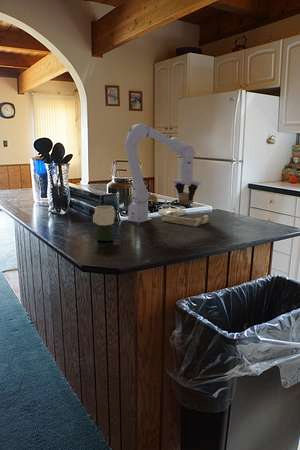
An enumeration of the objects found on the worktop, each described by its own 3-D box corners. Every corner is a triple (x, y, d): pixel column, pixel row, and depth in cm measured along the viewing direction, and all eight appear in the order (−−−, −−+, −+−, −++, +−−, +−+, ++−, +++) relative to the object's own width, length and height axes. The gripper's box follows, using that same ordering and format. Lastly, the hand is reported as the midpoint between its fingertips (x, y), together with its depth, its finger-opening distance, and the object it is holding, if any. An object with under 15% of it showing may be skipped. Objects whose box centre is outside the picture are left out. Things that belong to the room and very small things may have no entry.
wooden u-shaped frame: (194, 226, 167) (194, 219, 166) (161, 220, 178) (161, 214, 177) (208, 221, 176) (208, 215, 175) (175, 216, 187) (175, 210, 186)
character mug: (108, 236, 151) (108, 204, 148) (121, 239, 146) (121, 206, 143) (87, 241, 143) (86, 208, 140) (100, 245, 138) (99, 210, 135)
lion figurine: (138, 208, 208) (138, 192, 205) (133, 206, 212) (133, 190, 210) (160, 205, 215) (161, 190, 213) (156, 204, 219) (156, 189, 217)
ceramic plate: (175, 217, 185) (175, 215, 184) (153, 213, 193) (153, 211, 193) (190, 212, 195) (190, 210, 195) (168, 209, 204) (168, 207, 203)
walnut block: (187, 204, 180) (187, 194, 178) (178, 203, 182) (178, 193, 181) (193, 203, 183) (193, 193, 182) (184, 202, 186) (184, 192, 185)
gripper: (204, 171, 178) (203, 200, 181) (178, 169, 187) (178, 196, 190) (196, 172, 173) (195, 202, 176) (170, 170, 181) (170, 198, 185)
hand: (186, 199), depth 183 cm, fingers closed on walnut block, 5 cm apart
